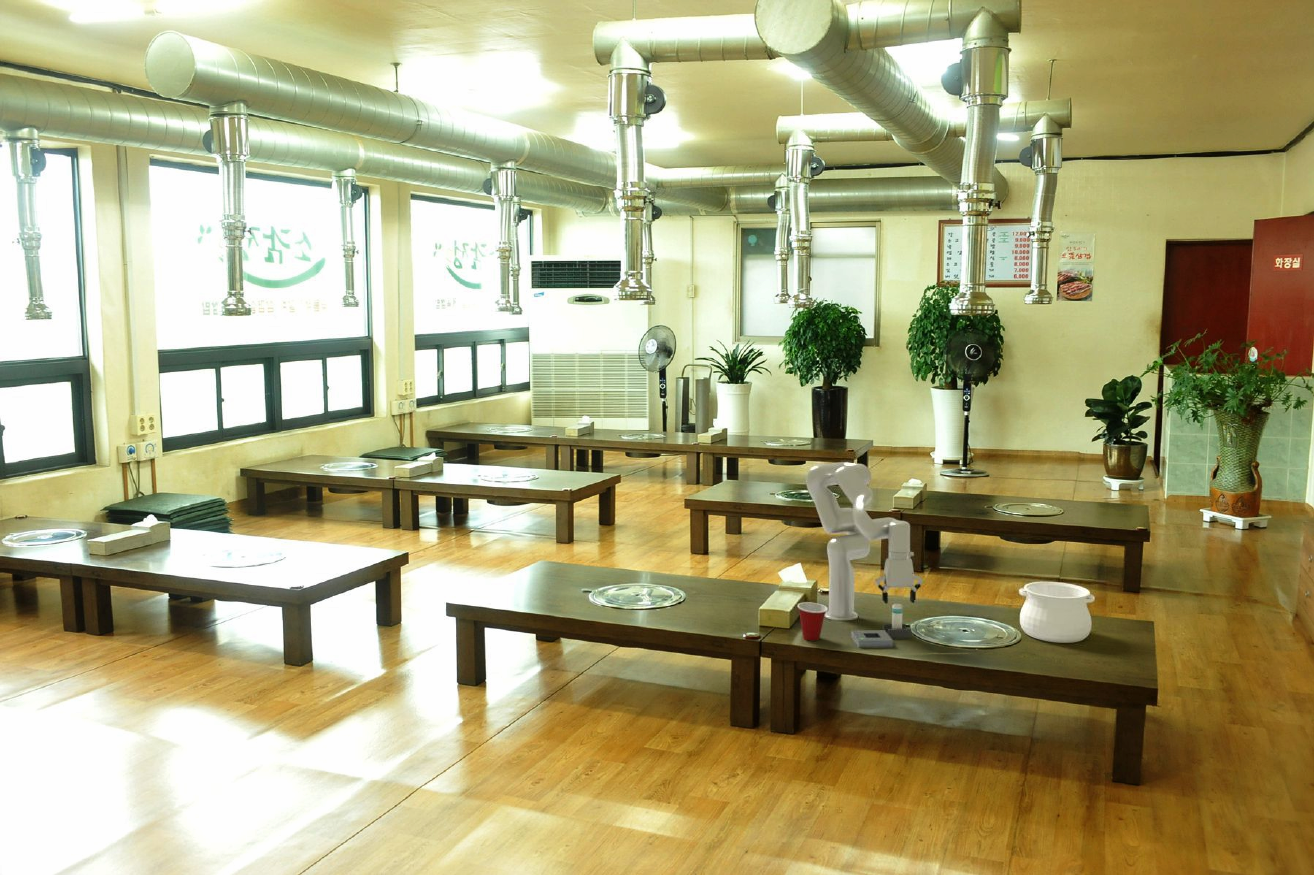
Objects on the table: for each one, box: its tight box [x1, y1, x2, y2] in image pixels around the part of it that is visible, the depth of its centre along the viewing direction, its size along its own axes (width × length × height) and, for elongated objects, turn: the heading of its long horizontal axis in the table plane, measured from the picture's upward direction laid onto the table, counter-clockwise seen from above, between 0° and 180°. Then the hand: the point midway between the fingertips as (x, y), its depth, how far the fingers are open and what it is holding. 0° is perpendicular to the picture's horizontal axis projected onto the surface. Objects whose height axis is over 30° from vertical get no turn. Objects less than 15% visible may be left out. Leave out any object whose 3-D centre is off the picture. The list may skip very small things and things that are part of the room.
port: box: [850, 629, 894, 649], centre depth 370 cm, size 12×12×3 cm
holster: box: [882, 623, 912, 639], centre depth 378 cm, size 8×8×4 cm
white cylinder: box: [891, 603, 903, 629], centre depth 378 cm, size 4×4×11 cm
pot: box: [1018, 581, 1096, 644], centre depth 380 cm, size 26×24×17 cm
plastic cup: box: [797, 601, 829, 642], centre depth 376 cm, size 11×11×12 cm
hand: (898, 602), depth 377 cm, fingers open, 9 cm apart
